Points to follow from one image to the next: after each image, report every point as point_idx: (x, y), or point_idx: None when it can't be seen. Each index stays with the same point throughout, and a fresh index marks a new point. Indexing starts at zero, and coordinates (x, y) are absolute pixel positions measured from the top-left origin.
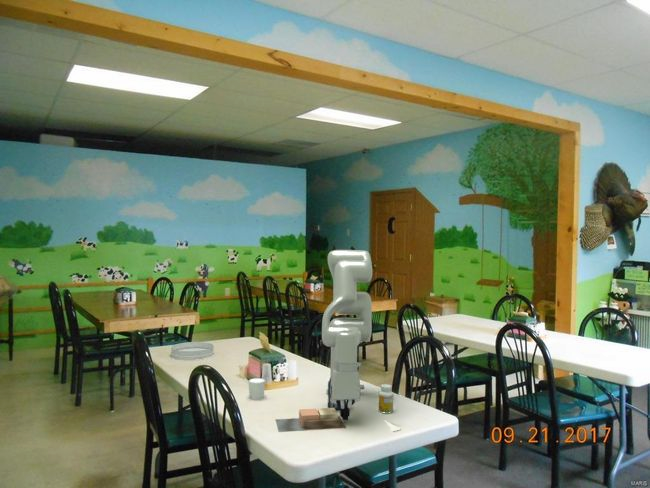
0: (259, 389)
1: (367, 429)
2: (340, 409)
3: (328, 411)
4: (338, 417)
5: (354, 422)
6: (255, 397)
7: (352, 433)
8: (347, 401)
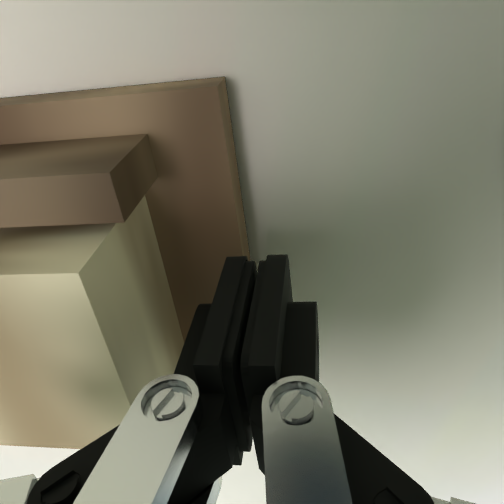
0: None
1: (472, 372)
2: (180, 363)
3: (17, 380)
4: (200, 142)
5: (401, 208)
6: None
7: None
8: (285, 481)
